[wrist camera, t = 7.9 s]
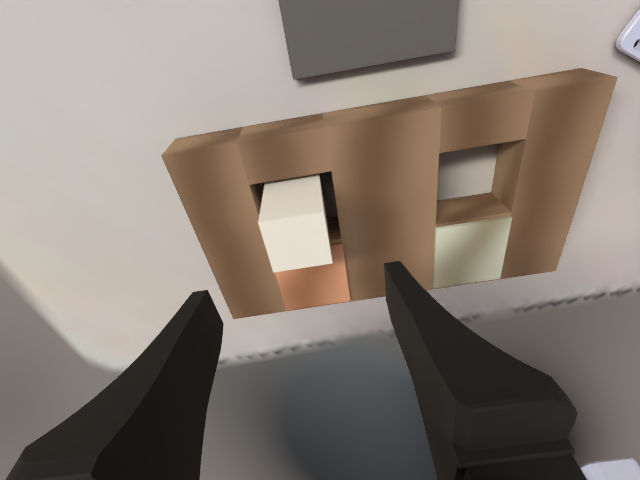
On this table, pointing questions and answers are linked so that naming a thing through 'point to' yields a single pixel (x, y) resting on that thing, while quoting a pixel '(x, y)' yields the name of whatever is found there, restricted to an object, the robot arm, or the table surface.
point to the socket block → (398, 189)
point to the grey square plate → (364, 32)
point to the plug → (295, 223)
